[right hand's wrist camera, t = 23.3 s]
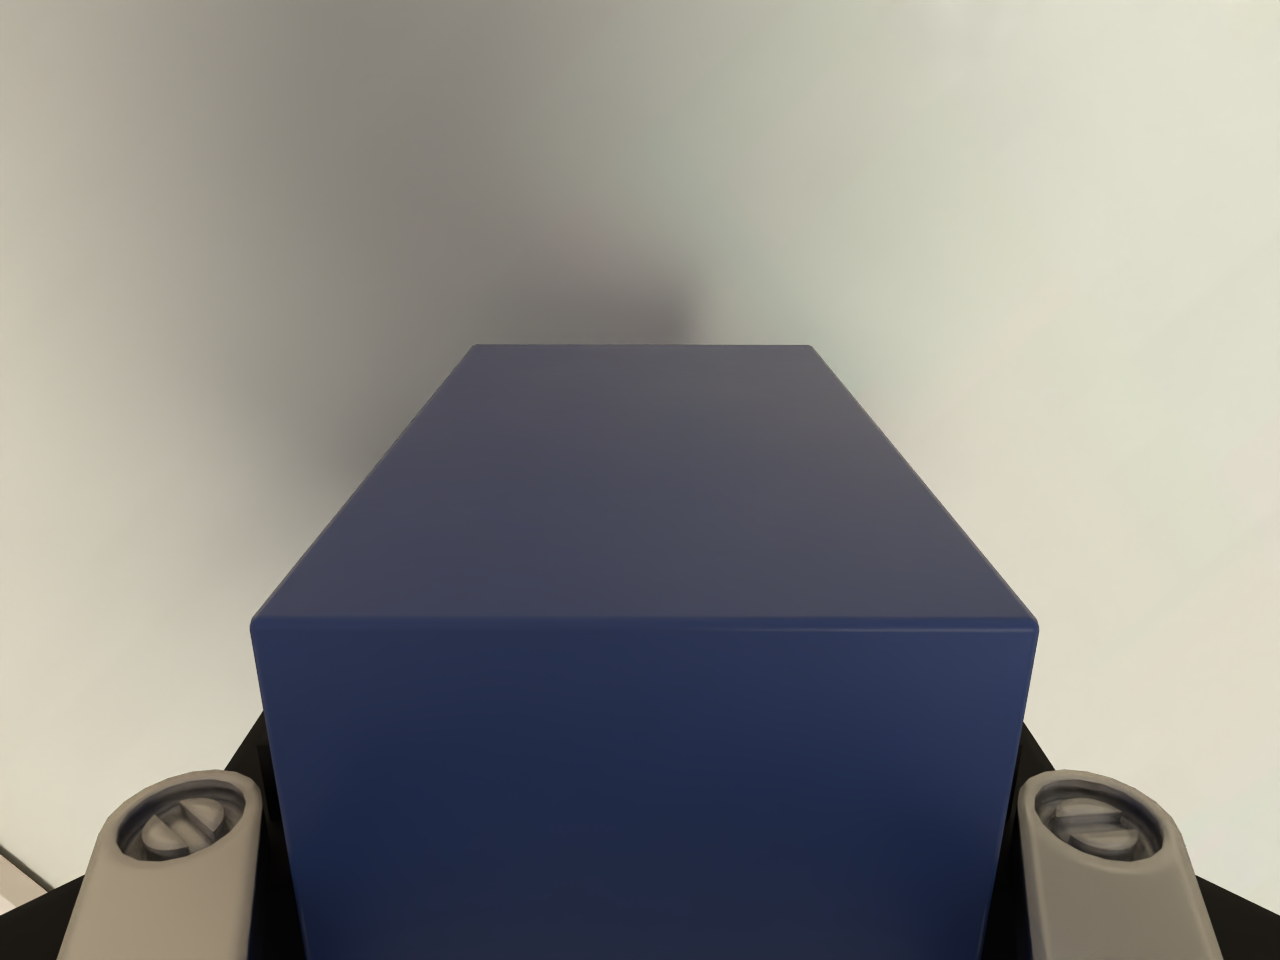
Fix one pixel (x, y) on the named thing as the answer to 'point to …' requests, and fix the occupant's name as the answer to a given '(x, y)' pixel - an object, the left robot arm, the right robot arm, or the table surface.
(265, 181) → the table surface
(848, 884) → the block
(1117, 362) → the table surface
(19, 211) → the table surface
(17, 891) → the tablet stand
